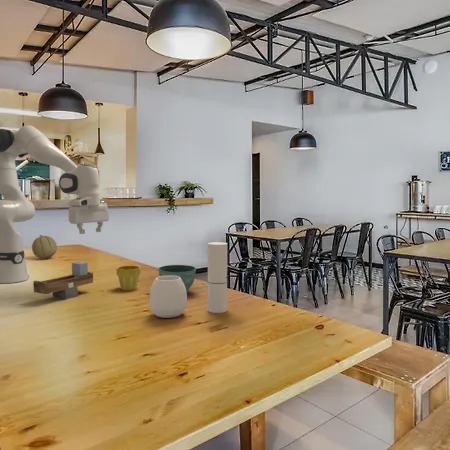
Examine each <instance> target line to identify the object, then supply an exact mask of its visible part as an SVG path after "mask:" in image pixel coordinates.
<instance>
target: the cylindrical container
mask: <svg viewBox="0 0 450 450" xmlns="http://www.w3.org/2000/svg"><path fill="white" fill-rule="evenodd" d="M227 311H228V242H222V241H221V242H220V241H215V242H214V241H213V242H211V241H210V242H208V243H207V312H209V313H212V314H223V313H226V312H227Z"/></svg>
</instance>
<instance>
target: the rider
mask: <svg viewBox="0 0 450 450" xmlns="http://www.w3.org/2000/svg"><path fill="white" fill-rule="evenodd" d="M88 269H89V268H88V262H84V261H75V262H71V275H74V278H75V277H79V276H84V275H87V274H88V272H89V271H88Z"/></svg>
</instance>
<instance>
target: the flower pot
mask: <svg viewBox="0 0 450 450" xmlns="http://www.w3.org/2000/svg"><path fill="white" fill-rule="evenodd" d="M157 270H158V275H159V276H158V277H160V276H168V275H170V276H178V277H180V278H181V280H182V281H183V283H184V285H185V288H186V292H187V294H188V293H189V290H190V289H191V287H192V285H193V284H194V282H195V277H196V272H197V267H196V266H194V265H187V264H186V265H185V264H169V265H163V266H160V267H158V268H157Z"/></svg>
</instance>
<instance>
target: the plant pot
mask: <svg viewBox="0 0 450 450" xmlns="http://www.w3.org/2000/svg"><path fill="white" fill-rule="evenodd" d="M116 276H117V277H118V281H119V285H120V290H122V291H134V290H137V287H138V281H139V276H141V266H140V265H134V264H133V265H130V264H128V265H119V266H117V267H116Z"/></svg>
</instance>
